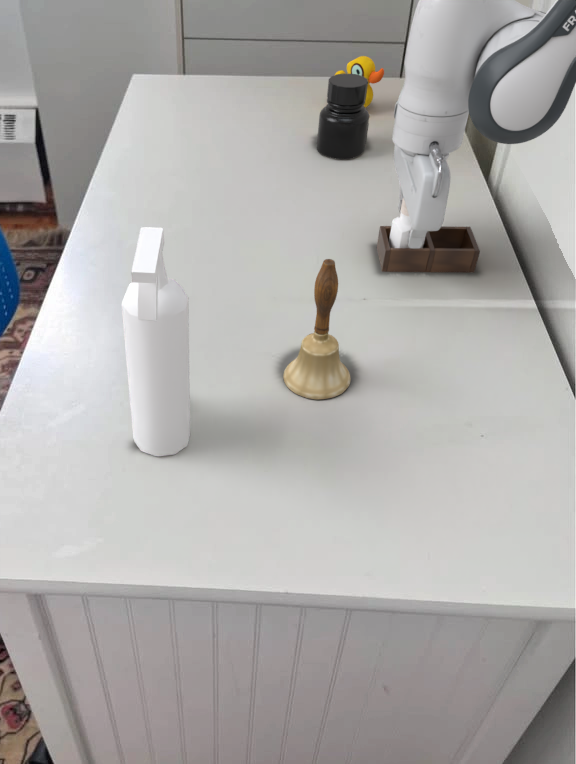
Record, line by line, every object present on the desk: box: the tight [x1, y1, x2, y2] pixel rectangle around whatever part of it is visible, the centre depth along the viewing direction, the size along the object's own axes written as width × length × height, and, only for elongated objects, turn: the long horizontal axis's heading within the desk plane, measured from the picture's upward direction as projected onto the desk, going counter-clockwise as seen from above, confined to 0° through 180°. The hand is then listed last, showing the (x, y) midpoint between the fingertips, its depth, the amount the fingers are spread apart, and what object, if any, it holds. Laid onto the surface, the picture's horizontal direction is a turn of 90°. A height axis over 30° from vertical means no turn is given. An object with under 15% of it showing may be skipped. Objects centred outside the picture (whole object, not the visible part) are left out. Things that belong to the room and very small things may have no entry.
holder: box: [376, 225, 481, 274], centre depth 104 cm, size 13×7×5 cm, turn 88°
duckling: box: [334, 55, 385, 109], centre depth 142 cm, size 11×5×10 cm, turn 46°
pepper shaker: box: [389, 198, 426, 248], centre depth 102 cm, size 4×4×10 cm
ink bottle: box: [316, 73, 370, 160], centre depth 129 cm, size 10×9×12 cm
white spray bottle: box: [121, 226, 191, 457], centre depth 74 cm, size 7×12×25 cm, turn 175°
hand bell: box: [282, 258, 351, 400], centre depth 83 cm, size 8×8×16 cm
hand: (409, 228), depth 102 cm, fingers open, 8 cm apart
